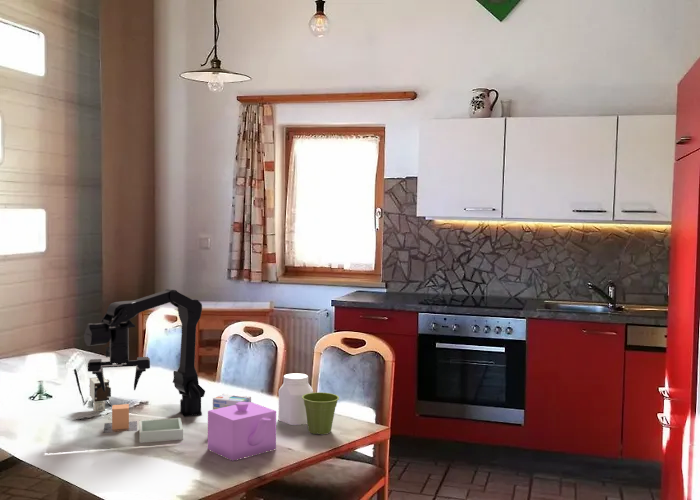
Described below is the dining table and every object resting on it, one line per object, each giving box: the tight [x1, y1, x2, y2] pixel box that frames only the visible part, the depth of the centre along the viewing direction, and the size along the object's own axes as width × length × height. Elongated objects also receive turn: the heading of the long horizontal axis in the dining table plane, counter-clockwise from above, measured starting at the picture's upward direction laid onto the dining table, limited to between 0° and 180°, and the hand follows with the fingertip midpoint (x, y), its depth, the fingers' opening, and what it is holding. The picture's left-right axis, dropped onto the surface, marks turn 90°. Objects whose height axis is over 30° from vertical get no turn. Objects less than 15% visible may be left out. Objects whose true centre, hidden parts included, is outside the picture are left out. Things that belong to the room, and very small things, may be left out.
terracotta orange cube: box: [111, 403, 130, 430], centre depth 227 cm, size 5×5×6 cm
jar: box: [277, 372, 314, 426], centre depth 240 cm, size 12×10×15 cm
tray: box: [138, 417, 184, 443], centre depth 220 cm, size 13×13×4 cm
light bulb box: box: [212, 393, 252, 410], centre depth 228 cm, size 11×7×11 cm, turn 71°
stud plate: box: [102, 420, 138, 434], centre depth 227 cm, size 10×10×6 cm
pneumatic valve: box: [88, 376, 112, 413], centre depth 246 cm, size 6×12×12 cm, turn 30°
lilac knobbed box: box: [207, 401, 277, 462], centre depth 209 cm, size 15×25×14 cm, turn 43°
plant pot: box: [302, 391, 340, 435], centre depth 228 cm, size 12×12×11 cm
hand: (119, 390), depth 228 cm, fingers open, 9 cm apart
